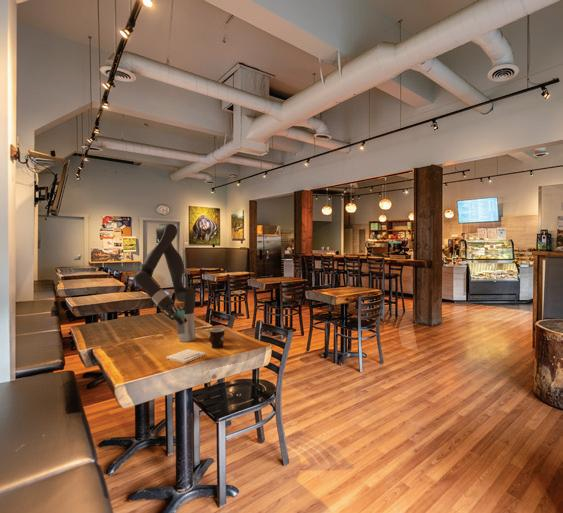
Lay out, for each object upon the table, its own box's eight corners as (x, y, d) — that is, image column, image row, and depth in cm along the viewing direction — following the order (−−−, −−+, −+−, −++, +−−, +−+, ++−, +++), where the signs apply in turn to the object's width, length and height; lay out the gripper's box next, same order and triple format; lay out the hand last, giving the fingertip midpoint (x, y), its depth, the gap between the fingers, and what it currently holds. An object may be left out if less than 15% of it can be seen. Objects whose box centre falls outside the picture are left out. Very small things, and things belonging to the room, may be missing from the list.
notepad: (187, 351, 184) (187, 348, 184) (206, 355, 176) (206, 352, 176) (166, 359, 171) (166, 356, 171) (184, 363, 164) (184, 361, 164)
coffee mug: (219, 344, 197) (219, 327, 197) (227, 347, 191) (227, 330, 190) (202, 348, 189) (202, 331, 188) (210, 351, 183) (210, 333, 182)
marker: (181, 331, 179) (180, 309, 178) (186, 332, 176) (186, 310, 176) (175, 333, 175) (174, 311, 175) (180, 334, 173) (179, 311, 172)
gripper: (160, 297, 169) (183, 321, 168) (173, 293, 183) (194, 315, 182) (151, 307, 170) (173, 331, 169) (164, 302, 184) (185, 324, 183)
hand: (184, 322), depth 175 cm, fingers closed on marker, 4 cm apart
